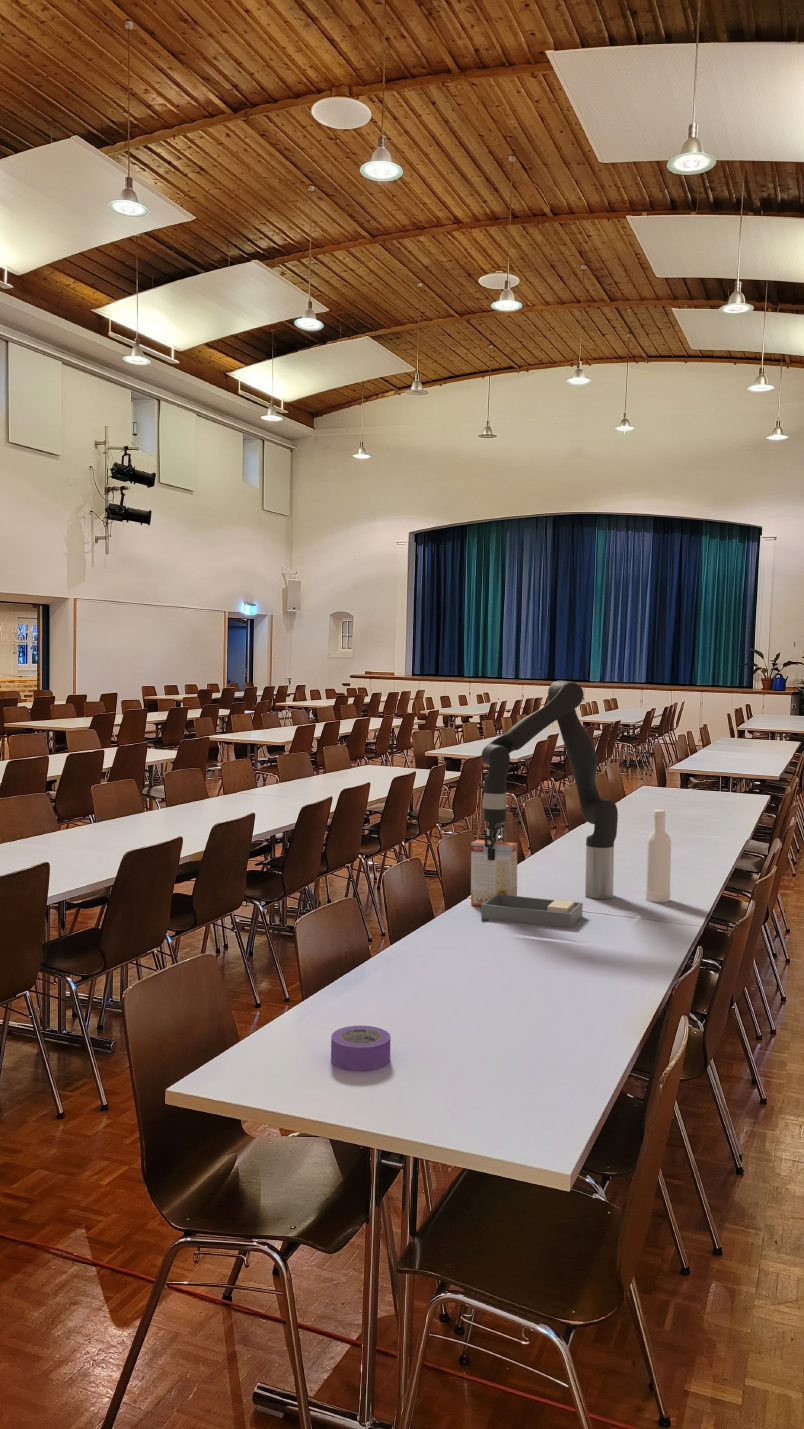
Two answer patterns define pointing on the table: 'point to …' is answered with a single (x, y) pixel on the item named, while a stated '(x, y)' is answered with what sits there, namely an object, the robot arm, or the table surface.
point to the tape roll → (360, 1048)
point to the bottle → (658, 861)
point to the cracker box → (493, 871)
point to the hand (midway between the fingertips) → (494, 858)
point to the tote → (528, 911)
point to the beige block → (561, 906)
